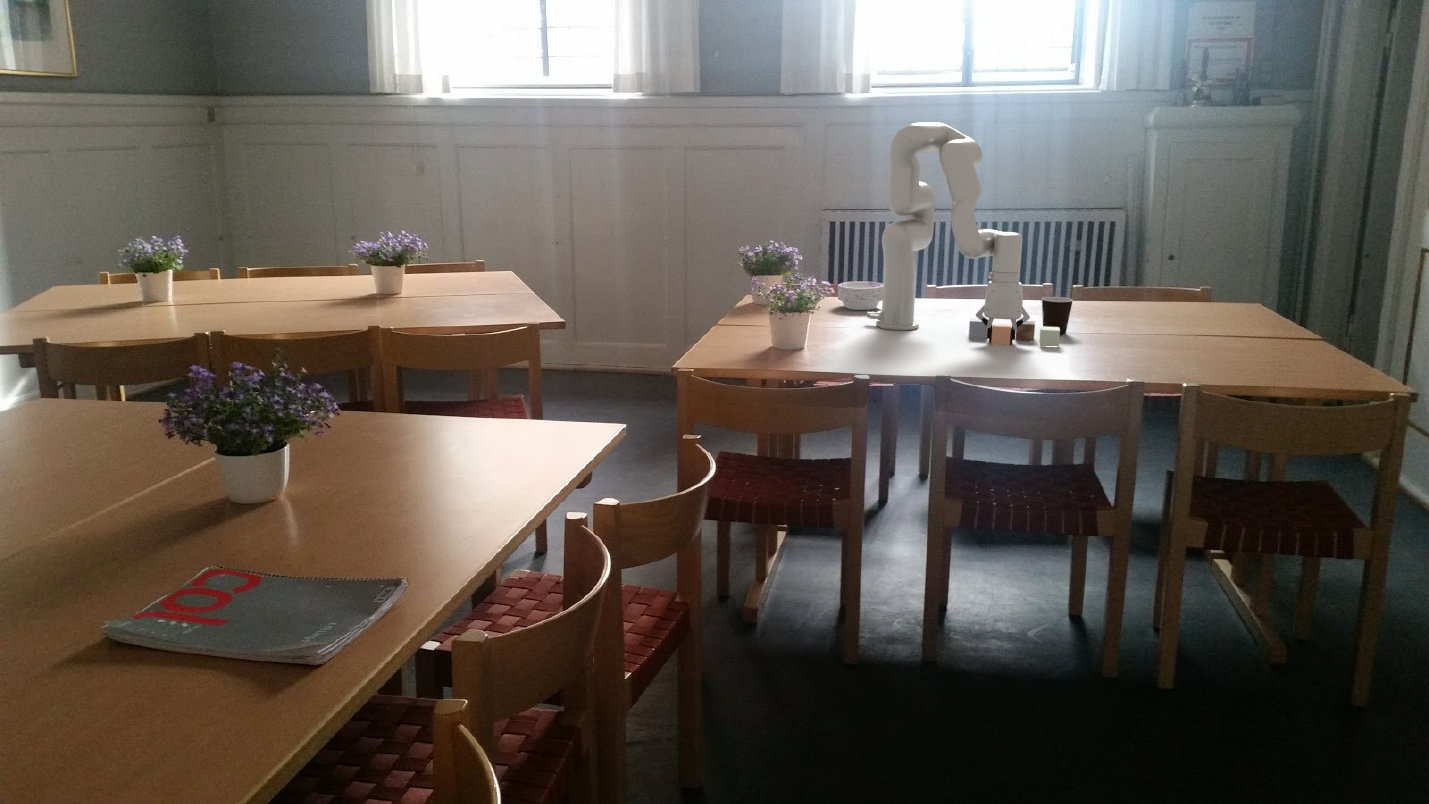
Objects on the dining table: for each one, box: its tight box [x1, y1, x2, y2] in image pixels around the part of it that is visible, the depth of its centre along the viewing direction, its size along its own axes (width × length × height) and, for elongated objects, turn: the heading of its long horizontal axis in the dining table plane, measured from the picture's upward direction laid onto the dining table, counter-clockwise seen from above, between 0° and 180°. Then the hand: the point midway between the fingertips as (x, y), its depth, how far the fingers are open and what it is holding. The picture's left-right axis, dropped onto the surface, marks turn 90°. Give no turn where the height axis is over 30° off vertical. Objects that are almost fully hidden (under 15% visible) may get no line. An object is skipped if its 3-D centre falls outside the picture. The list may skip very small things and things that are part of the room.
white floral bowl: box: [837, 281, 883, 311], centre depth 362 cm, size 15×15×8 cm
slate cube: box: [968, 317, 989, 340], centre depth 319 cm, size 5×5×5 cm
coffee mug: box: [1041, 296, 1074, 336], centre depth 325 cm, size 12×9×10 cm
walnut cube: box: [1014, 319, 1036, 342], centre depth 316 cm, size 5×5×5 cm
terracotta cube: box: [990, 323, 1012, 346], centre depth 311 cm, size 5×5×5 cm
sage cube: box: [1039, 325, 1061, 348], centre depth 308 cm, size 5×5×5 cm
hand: (1000, 341), depth 311 cm, fingers closed on terracotta cube, 5 cm apart
